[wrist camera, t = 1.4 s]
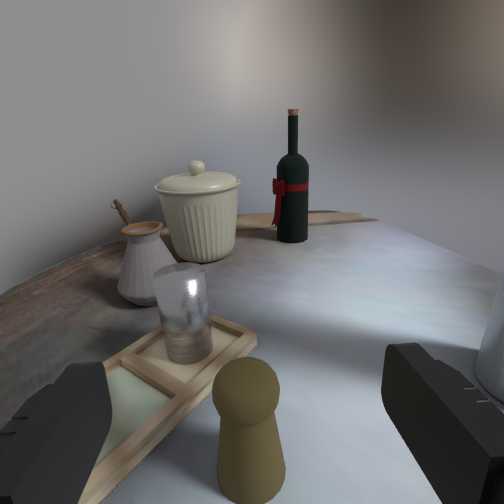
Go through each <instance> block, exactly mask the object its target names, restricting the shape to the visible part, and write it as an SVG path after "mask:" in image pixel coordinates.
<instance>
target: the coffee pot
mask: <svg viewBox="0 0 504 504" xmlns="http://www.w3.org/2000/svg"><path fill="white" fill-rule="evenodd" d="M113 202H114V204H115V205H116V208H114V209H117V210H118V211H119V214H120V216H121V217H122V219H123V220H124V222H125V223H126V224H127V226H126V227H124V228H122V230H121V232H122V234H124V235H125V236H126V238H127V240H128V244H127V248H126V252H125V256H124V260H123V265H122V269H121V273H120V277H119V281H118V286H117V288H118V292H119V293H120V294H121V295H122V297H124V298H125V299H126V300H128V301H130V302H133V303H135V304H137V305H140V306H153V305H158V304H157V299H156V293H155V288H154V283H153V274H154V273H155V272H156V271H157V270H159V269H160V268H162V267H164V266H167V265H170V264H175V263H177V262H176V261H175V259H174V258H173V256H172V255H171V253H170V252H169V250H168V249H167V247H166V246H165V244H164V243H163V241H162V240H161V238H160V236H159V235H160V230H161V228H162V225H163V224H162V223H160V222H139V223H134V224H132V223H131V221H130V219H129V217H128V215H127V213H126V211H124V209H123V208H122V203H121V204H119V202H121V201H119V202H118V201H117V200H114V201H113ZM113 202H112V203H113ZM111 208H113V207H111Z"/></svg>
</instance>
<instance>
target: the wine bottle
mask: <svg viewBox="0 0 504 504" xmlns="http://www.w3.org/2000/svg"><path fill="white" fill-rule="evenodd" d="M288 114H289V116H288V154H287V155H285V156H284V157H283V158H281V160H280V161H279V163H278V165H277V179H274V178H273V194H276V201H275V215H274V219H273V222H272V225H273V224H275V226H277V239H278V240H279V241H281V242H286V243H299V242H304V241H305V240H307V236H308V180H309V165H308V163H307V161H306V159H305V158H304V157H303V156H301V155H299V154H298V153H297V152H298V151H297V149H298V148H297V147H298V115H297V114H298V109H289V110H288Z"/></svg>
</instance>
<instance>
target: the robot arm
mask: <svg viewBox="0 0 504 504" xmlns="http://www.w3.org/2000/svg"><path fill="white" fill-rule="evenodd" d="M474 370H475V374H476V377H477V378H478V380H479V382H480V383H481V384H482V385H483V386H484V388H485V389H486V390H487V391H489V392H490V393H491V394H492V395H493V396H495V397H496V398H498V399H499V400H500V401H502V402H503V403H504V270H503V273H502V277H501V280H500V283H499V287H498V290H497V293H496V297H495V300H494V303H493V307H492V310H491V313H490V317H489V320H488V323H487V327H486V330H485V333H484V337H483V340H482V343H481V346H480V350H479V353H478V356H477V360H476V363H475V369H474ZM381 395H382V401H383V404H384V407H385V410H386V412H387V414H388V415H389V417H390V419H391V420H392V422H393V424H394V425H395V427H396V428H397V430H398V432H399V433H400V435H401V437H402V438H403V440H404V442H405V443H406V445H407V446H408V448H409V450H410V451H411V453H412V455H413V456H414V458H415V460H416V461H417V463H418V464H419V466H420V468H421V469H422V471H423V473H424V474H425V476H426V478H427V479H428V481H429V482H430V484H431V486H432V487H433V489H434V491H435V492H436V494H437V496H438V497H439V499H440V501H441V502H442V504H504V414H503V413H502V412H501V411H500V410H499V409H498V408H497V407H496V406H495V405H494V404H493V403H492V402H488V399H487V398H486V397H485V396H484V395H483V394H482V393H481V392H480V391H479V390H478V389H475V388H474V385H473V384H472V383H470V382H469V381H468V380H467V379H466V378H465V377H464V376H463V375H462V374H461V373H460V372H459V371H457V370H455V369H454V368H452V367H450V366H448V365H447V364H445V363H443V362H442V361H440V360H434V359H433V358H432V357H431V356H430V355H429V354H428V353H427V352H426V351H425V350H424V349H423V348H422V347H421V346H420V345H419V344H417V343H405V344H390V345H388V346H387V348H386V352H385V360H384V369H383V377H382V386H381ZM111 422H112V403H111V398H110V393H109V388H108V382H107V377H106V372H105V367H104V365H103V363H102V362H87V363H72V364H70V365H68V367H67V368H66V369H65V370H64V372H63V373H62V374H61V375H60V377H59V378H58V379H57V381H56V382H55V383H54V384H50V385H46V386H45V387H44V388H42V389H41V390H40V391H38V392H37V393H36V394H34V395H33V396H32V397H30V398H29V399H28V400H27V401H26V402H25V403H24V404H23V405H22V407H21V408H20V409H19V410H18V411H17V413H16V414H15V415H14V416H13V417H12V421H9V422H8V423H7V425H6V426H5V427H4V428H3V429H2V431H1V432H0V504H78V502H79V500H80V497H81V495H82V493H83V490H84V488H85V486H86V484H87V481H88V479H89V477H90V474H91V472H92V470H93V468H94V465H95V463H96V461H97V458H98V456H99V454H100V452H101V449H102V447H103V445H104V442H105V440H106V438H107V436H108V433H109V430H110V427H111Z"/></svg>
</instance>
